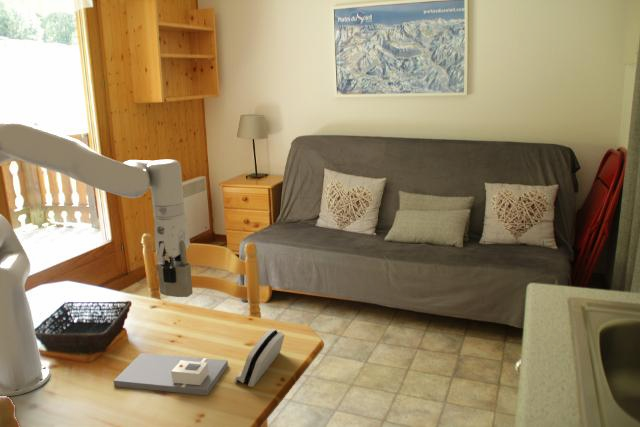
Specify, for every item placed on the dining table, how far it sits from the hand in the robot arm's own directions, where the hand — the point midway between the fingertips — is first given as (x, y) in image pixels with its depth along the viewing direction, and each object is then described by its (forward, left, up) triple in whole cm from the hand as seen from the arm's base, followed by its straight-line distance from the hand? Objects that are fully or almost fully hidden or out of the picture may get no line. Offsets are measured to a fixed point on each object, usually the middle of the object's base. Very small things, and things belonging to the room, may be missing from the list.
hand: (174, 277), depth 142 cm
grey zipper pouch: (+24, -4, -22) cm, 32 cm away
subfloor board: (+2, -11, -21) cm, 24 cm away
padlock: (0, 0, -5) cm, 5 cm away
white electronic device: (+9, -14, -19) cm, 26 cm away
